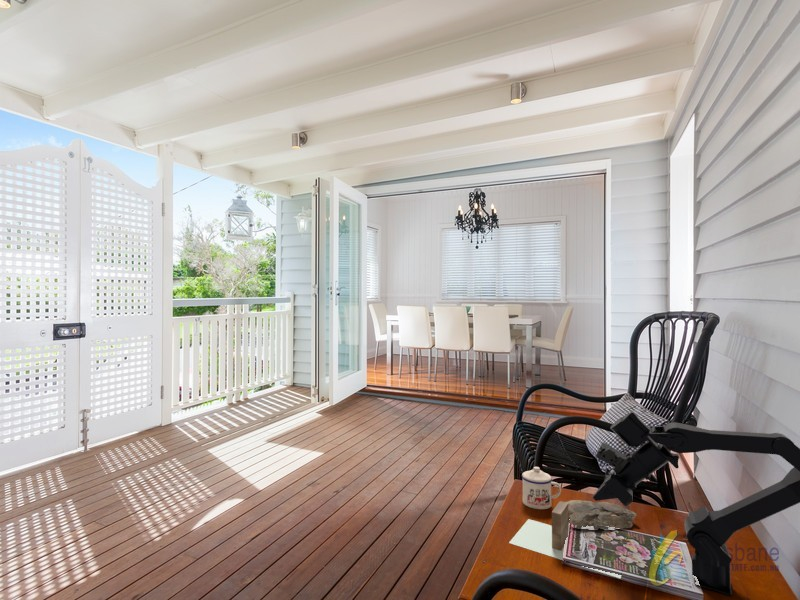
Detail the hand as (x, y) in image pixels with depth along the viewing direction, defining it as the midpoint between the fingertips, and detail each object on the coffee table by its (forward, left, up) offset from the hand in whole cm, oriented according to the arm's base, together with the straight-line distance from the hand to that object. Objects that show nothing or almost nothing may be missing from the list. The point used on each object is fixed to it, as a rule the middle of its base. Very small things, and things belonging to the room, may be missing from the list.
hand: (594, 498), depth 107 cm
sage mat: (+6, +1, -14) cm, 15 cm away
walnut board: (+8, +1, -13) cm, 15 cm away
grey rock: (+2, -19, -14) cm, 24 cm away
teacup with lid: (+19, -20, -14) cm, 31 cm away
